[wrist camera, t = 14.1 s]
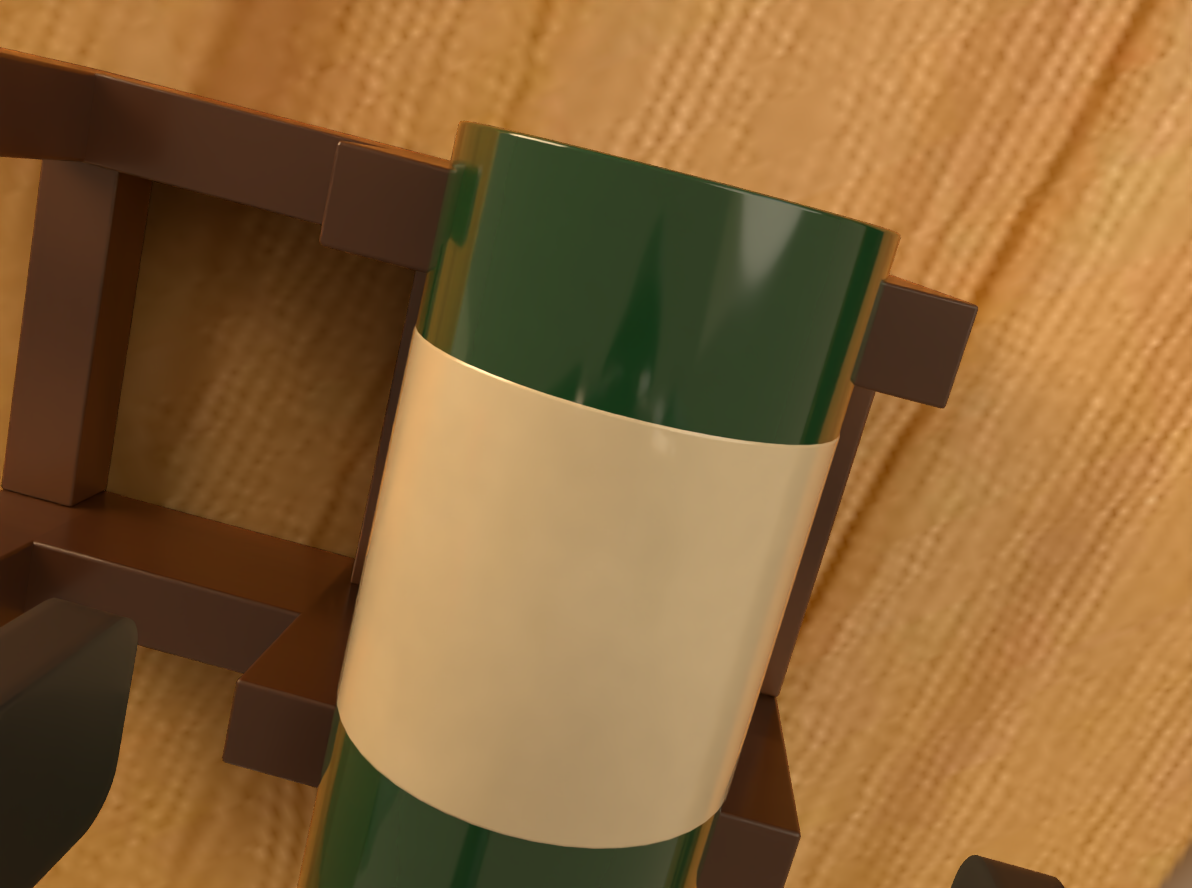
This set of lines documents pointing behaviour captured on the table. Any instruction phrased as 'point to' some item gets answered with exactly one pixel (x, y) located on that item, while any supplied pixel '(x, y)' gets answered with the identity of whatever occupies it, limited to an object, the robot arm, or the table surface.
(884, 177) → the table surface
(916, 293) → the rack
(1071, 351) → the table surface
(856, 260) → the bottle
